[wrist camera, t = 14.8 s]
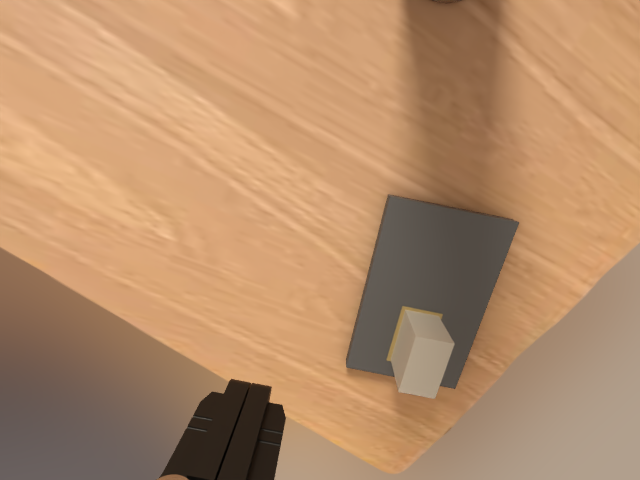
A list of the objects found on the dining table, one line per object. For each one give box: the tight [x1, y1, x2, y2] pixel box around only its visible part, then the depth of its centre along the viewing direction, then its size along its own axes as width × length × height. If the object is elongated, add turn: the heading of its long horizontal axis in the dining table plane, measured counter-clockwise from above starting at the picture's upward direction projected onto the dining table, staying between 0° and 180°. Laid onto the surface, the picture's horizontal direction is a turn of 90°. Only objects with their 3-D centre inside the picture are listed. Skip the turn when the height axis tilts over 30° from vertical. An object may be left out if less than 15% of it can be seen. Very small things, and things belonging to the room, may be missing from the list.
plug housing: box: [391, 310, 455, 399], centre depth 37 cm, size 7×4×6 cm, turn 170°
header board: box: [346, 194, 519, 389], centre depth 37 cm, size 22×14×6 cm, turn 169°
